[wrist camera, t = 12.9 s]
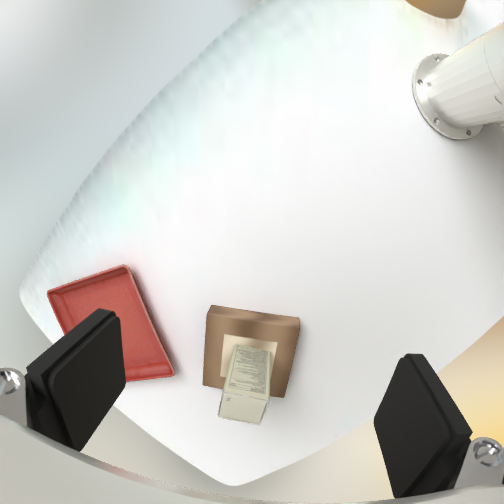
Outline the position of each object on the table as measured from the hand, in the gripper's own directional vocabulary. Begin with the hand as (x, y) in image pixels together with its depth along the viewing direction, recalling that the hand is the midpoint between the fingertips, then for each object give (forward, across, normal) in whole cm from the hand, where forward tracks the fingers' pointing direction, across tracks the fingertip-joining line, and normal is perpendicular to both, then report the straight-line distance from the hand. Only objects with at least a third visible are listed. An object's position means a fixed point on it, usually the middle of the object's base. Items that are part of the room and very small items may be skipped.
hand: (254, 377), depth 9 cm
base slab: (+30, +1, +18) cm, 35 cm away
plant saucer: (+31, +23, +19) cm, 43 cm away
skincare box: (+27, +1, +18) cm, 33 cm away
